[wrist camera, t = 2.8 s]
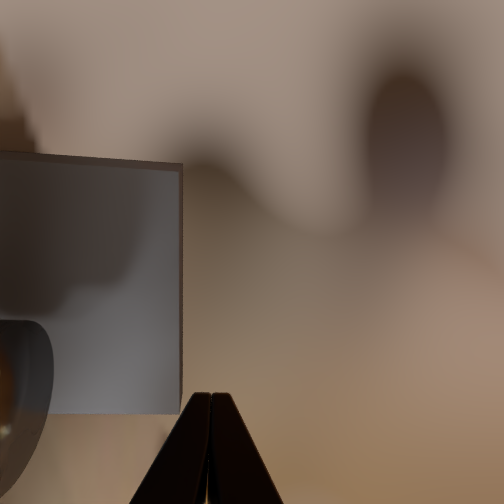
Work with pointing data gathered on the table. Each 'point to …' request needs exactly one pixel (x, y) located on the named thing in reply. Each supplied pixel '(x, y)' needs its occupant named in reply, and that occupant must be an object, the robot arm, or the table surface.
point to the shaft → (22, 394)
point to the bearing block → (97, 276)
